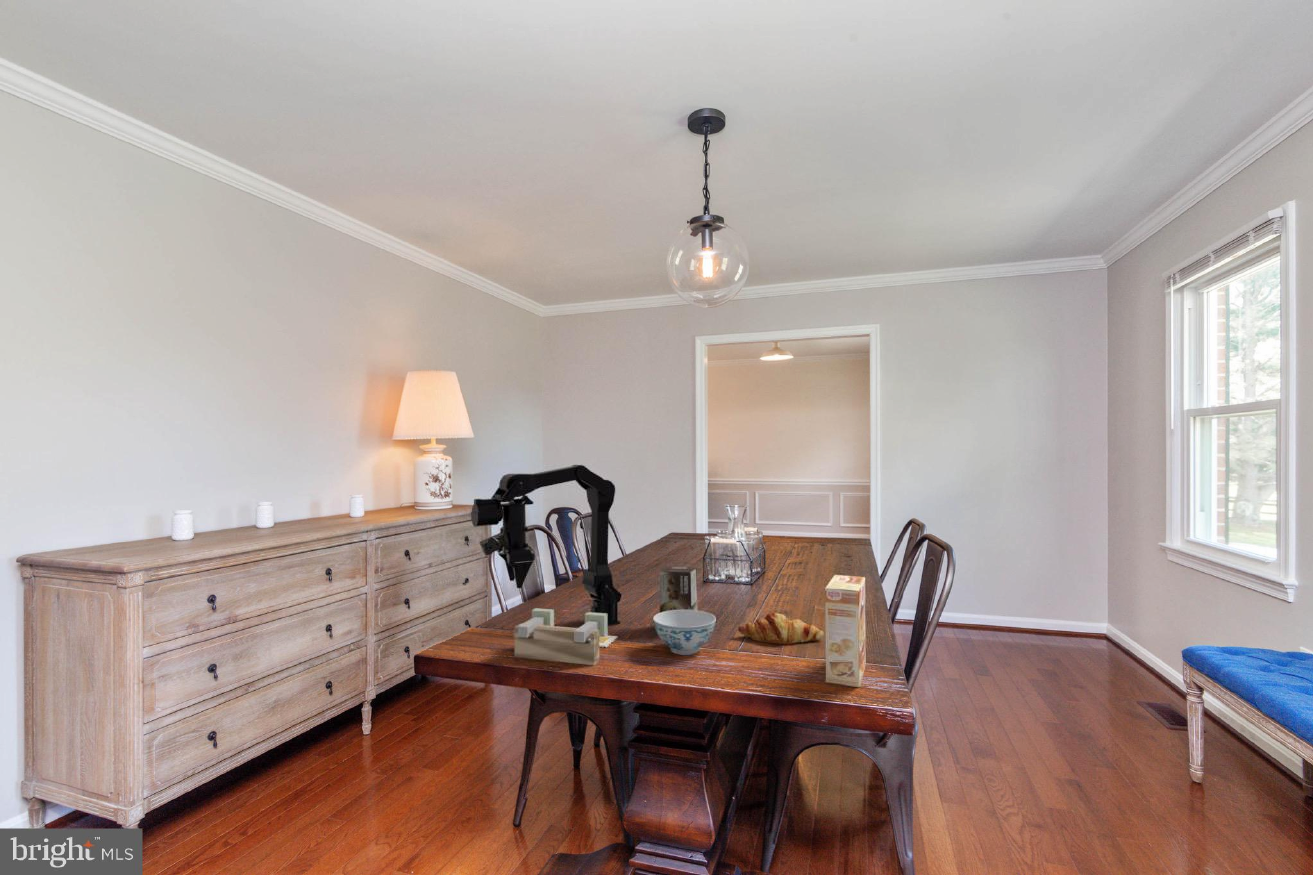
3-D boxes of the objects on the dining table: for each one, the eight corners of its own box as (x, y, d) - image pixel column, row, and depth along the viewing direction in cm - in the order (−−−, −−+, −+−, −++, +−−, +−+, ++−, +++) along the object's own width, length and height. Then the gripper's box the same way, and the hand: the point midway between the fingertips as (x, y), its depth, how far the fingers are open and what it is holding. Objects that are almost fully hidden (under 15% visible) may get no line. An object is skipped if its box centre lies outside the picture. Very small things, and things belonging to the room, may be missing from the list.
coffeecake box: (860, 688, 125) (859, 590, 125) (824, 682, 128) (823, 587, 128) (867, 663, 139) (866, 576, 139) (834, 659, 142) (833, 573, 142)
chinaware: (676, 665, 139) (675, 630, 139) (641, 647, 151) (641, 615, 152) (729, 653, 147) (728, 620, 147) (692, 636, 159) (691, 606, 160)
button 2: (588, 632, 150) (588, 612, 150) (607, 634, 148) (607, 613, 149) (568, 647, 139) (568, 624, 139) (589, 649, 138) (589, 626, 138)
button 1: (535, 628, 154) (535, 608, 154) (554, 630, 152) (553, 609, 153) (512, 642, 143) (512, 620, 143) (532, 643, 142) (532, 621, 142)
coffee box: (698, 627, 168) (698, 567, 168) (692, 634, 162) (691, 571, 162) (666, 624, 171) (665, 565, 171) (658, 631, 164) (658, 569, 165)
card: (574, 634, 162) (574, 631, 162) (617, 637, 159) (617, 635, 159) (560, 643, 155) (560, 641, 155) (605, 647, 151) (605, 645, 151)
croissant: (821, 651, 158) (819, 619, 162) (827, 643, 150) (825, 610, 153) (737, 646, 161) (737, 615, 165) (738, 639, 152) (738, 606, 156)
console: (521, 652, 148) (520, 623, 148) (599, 660, 142) (599, 629, 142) (514, 657, 145) (514, 626, 145) (594, 665, 139) (594, 633, 139)
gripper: (476, 521, 164) (477, 580, 164) (487, 530, 147) (489, 596, 147) (518, 518, 168) (520, 576, 168) (534, 526, 151) (535, 590, 151)
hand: (515, 584), depth 159 cm, fingers open, 9 cm apart
